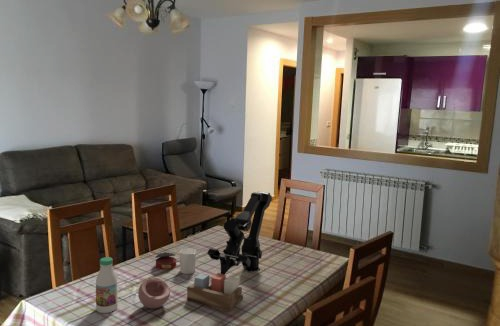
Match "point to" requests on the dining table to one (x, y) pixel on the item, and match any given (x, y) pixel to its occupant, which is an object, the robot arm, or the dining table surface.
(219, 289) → the red key
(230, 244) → the robot arm
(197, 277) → the grey rectangular block
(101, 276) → the milk bottle
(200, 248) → the dining table surface
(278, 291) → the dining table surface
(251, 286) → the dining table surface
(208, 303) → the key console
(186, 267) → the white cup
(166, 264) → the canned food
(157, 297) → the pink round pot
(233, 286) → the white key
